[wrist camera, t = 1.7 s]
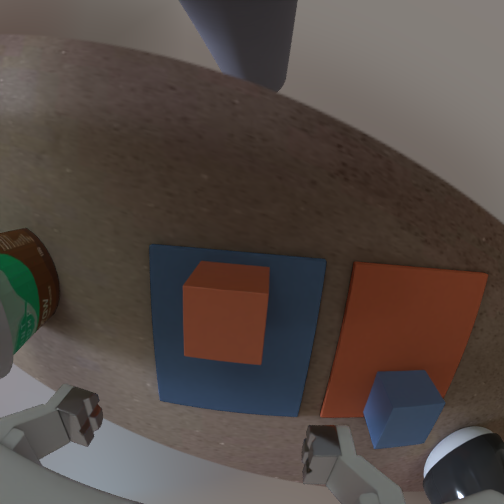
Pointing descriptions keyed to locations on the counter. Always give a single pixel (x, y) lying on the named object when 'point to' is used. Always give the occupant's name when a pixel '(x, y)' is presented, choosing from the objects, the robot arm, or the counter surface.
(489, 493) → the robot arm
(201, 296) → the terracotta block
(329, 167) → the counter surface
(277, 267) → the blue mat
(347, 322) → the terracotta mat
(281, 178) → the counter surface
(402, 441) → the slate block
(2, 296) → the food container
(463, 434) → the pump dispenser
